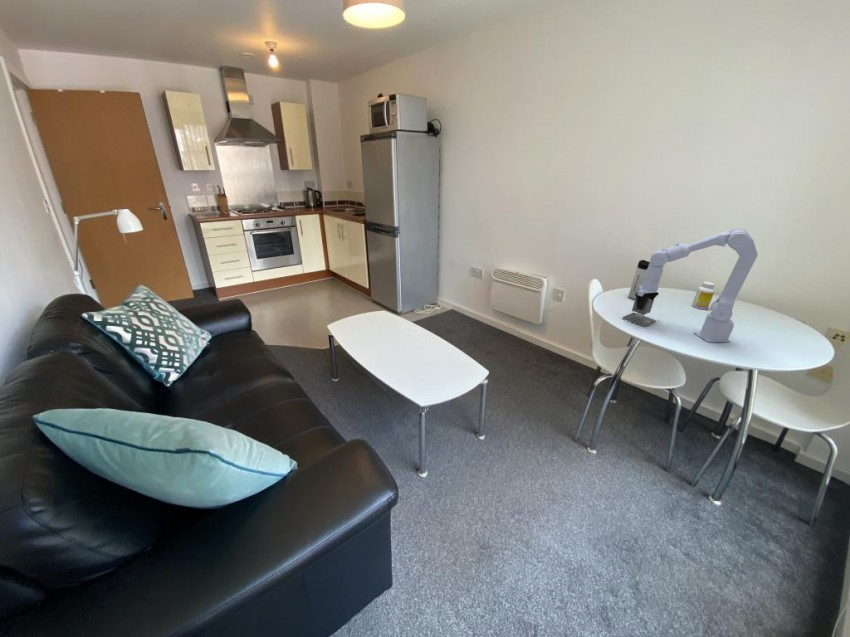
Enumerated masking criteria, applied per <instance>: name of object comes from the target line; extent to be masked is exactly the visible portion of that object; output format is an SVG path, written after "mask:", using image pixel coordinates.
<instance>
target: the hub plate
mask: <svg viewBox="0 0 850 637" xmlns="http://www.w3.org/2000/svg"><path fill="white" fill-rule="evenodd" d="M622 318H623V319H622V320H624V319H625V320H624V321H626V320H628V321H627V322H629V321H630V323H632V324H634V323H635V325H638V326H640V327H643V328H646V327H648V326H651V325H653V324H654V323H656V321H657V320H656V319H653V318H650V317H647V316H645V315H643V314H640V313H637V312H634V311H632V312H631V313H629V314H627V315H624V316H622Z"/></svg>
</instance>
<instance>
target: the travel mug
mask: <svg viewBox="0 0 850 637" xmlns="http://www.w3.org/2000/svg"><path fill="white" fill-rule="evenodd" d="M649 263H650V261H647V260H645V259H641V260H639V261H638V263H637V267H636V269H635V273H634V276H633V279H632V283H631V286H630V288H629V292H628V296H627V297H628V299H630V300H633V301H635V298H636V296H635V294H636V293H637V292H638V291H639V290H640V288H638V287H639V286H642V284H643V281H644V278H645V275H646V272H647V268H648V267H649Z"/></svg>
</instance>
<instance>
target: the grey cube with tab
mask: <svg viewBox="0 0 850 637" xmlns="http://www.w3.org/2000/svg"><path fill="white" fill-rule="evenodd" d="M654 301H655V299H654V300H653V299H648V300H647V302H646V304H645V306H644V308H643V309H642V310H639V309H637V299H636V298H635V300H634V302H633V306H632V309H631V311H632V312H634V313H640V314H643V315H644V316H645V315H647V314H650V313H651V311H652V308H653V305H654Z"/></svg>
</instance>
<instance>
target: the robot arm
mask: <svg viewBox="0 0 850 637" xmlns="http://www.w3.org/2000/svg"><path fill="white" fill-rule="evenodd" d="M754 241H755V240H754V239H753V238H752V236H751V235H750V234H749V233H748V232H747V231H746V229H743V228H733V229H731V230H730V231H729V230H726V231H723V232H719V233H716V234H713V235H711V236H708V237H706V238H702V239H699V240H697V241H693V242H692V243H688V244H686V243H684V242H682V243H680V242H678V243H677V242H676V243H675V245H673V246H671V247H668V248H665V247H664V248H662V249H661V250H657V251H654V252H653V253H652V254H651V256H650V258H649V259H650V260H649V262H650V263H649V267H648V268H647V272H646V275H645V278H644V281H643V284H642V286H639V287H638V288H640V290H639V291H638V292H637V293H636V294H635V296H636V299H637V309H639V310H642V309H643V308H644V306H645V304H646V302H647V300H648V299H653V300H654V301H655V298H657V297H658V296H659V295H660V293H659V292H658V290H659V287H660V285H659V284H660V281H661V277H662V275H663V272H664V266H665V265H666V263H671V262H674V261H675V262H676V261H678V260H680V259H684V258H687V257H688V256H689V255H690V253H692V252H697V251H699V250H703V249H707V248H710V247H713V246H719V247H726V245H728V247H729V248H730V249H732V250H733V251H735V252H736V254H738V256H739V257H738V258H737V261H736V263H734V264H735V265H734V266H733V268H732V270H731V273H730V275H729V277H728V279H727V281H726V282H725V286H723V289H722V291H721V293H720V294H719V295H718V297H717V299H716V300H715V301H713V302H712V303H711V305H710V310H711V312H709V313H707V314H706V317H705V319H704V322H703V324H702V327H701V329H700V331H697V332H696V331H694V332H693V334H694V335H696V336H698V337H699V338H701V339H703V340H705V341H706V342H708V343H729V342H730V340H729V339H730V336H731V334H732V332H733V330H734V327H735V324H734V321H733V319H732V316H733V311H732V310H733V308H734V305H735V301H736V298H737V297H738V294H739V293H740V291H741V289H742V287H743V285H744V282H745V281H746V279H747V277H748V275H749V274H750V271H751V269H752V268H753V266H754V263H755V262H756V259H757V258H758V255H759V253H758V251H757V247H756V244H755V242H754Z"/></svg>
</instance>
